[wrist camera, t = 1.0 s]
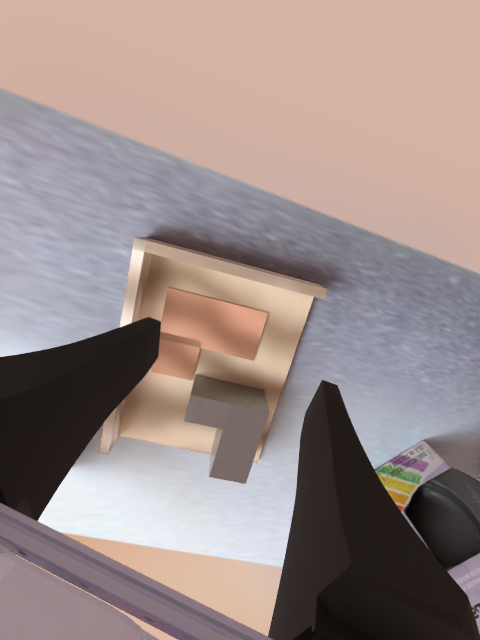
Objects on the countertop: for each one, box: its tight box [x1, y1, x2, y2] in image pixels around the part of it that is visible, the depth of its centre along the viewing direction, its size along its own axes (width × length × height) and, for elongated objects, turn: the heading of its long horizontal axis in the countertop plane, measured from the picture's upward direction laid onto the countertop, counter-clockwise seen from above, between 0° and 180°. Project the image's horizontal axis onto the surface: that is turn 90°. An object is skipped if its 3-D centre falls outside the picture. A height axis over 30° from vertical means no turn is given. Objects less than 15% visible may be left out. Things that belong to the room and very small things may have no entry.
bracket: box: [184, 374, 270, 484], centre depth 32 cm, size 9×8×4 cm
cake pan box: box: [375, 440, 480, 633], centre depth 30 cm, size 19×5×18 cm, turn 126°
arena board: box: [99, 237, 328, 463], centre depth 31 cm, size 23×18×4 cm
